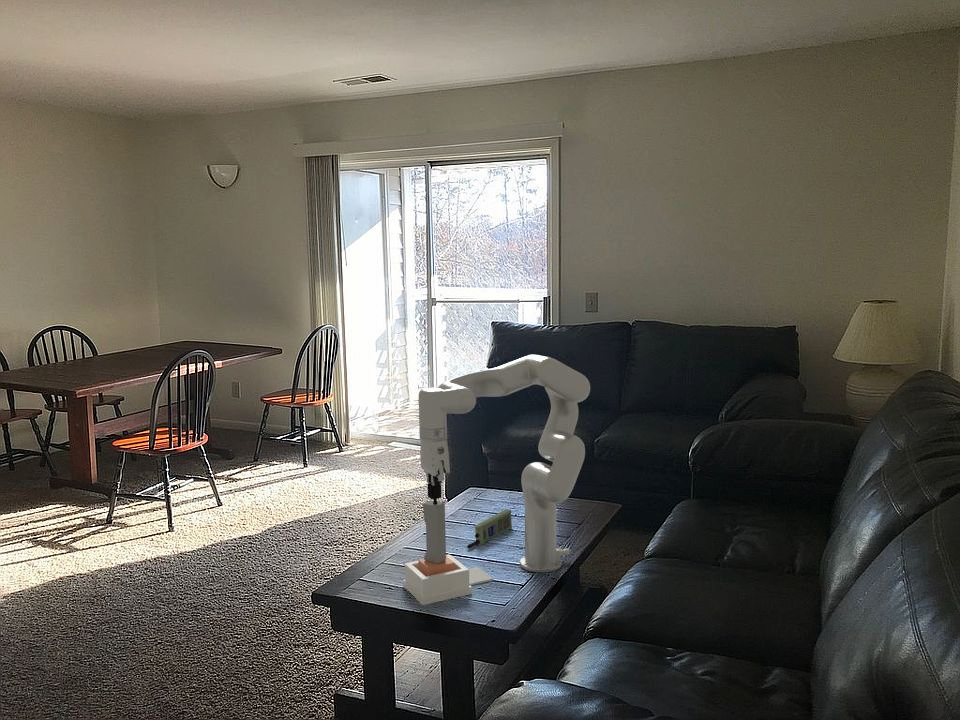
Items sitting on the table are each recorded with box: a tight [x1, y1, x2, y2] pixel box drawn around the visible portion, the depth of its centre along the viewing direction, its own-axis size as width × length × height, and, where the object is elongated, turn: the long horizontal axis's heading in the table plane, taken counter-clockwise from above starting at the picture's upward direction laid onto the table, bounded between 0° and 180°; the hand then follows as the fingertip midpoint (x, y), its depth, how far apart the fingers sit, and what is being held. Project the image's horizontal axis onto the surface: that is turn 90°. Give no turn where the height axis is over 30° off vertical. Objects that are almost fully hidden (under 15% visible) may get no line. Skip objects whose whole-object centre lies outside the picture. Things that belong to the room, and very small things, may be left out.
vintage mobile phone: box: [422, 499, 447, 564], centre depth 224 cm, size 4×5×25 cm
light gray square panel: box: [468, 566, 494, 587], centre depth 235 cm, size 10×10×1 cm
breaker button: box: [417, 556, 455, 576], centre depth 226 cm, size 8×7×3 cm
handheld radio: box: [466, 508, 513, 550], centre depth 267 cm, size 7×3×25 cm
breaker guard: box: [402, 553, 473, 606], centre depth 226 cm, size 15×14×7 cm
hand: (434, 497), depth 223 cm, fingers closed on vintage mobile phone, 1 cm apart
